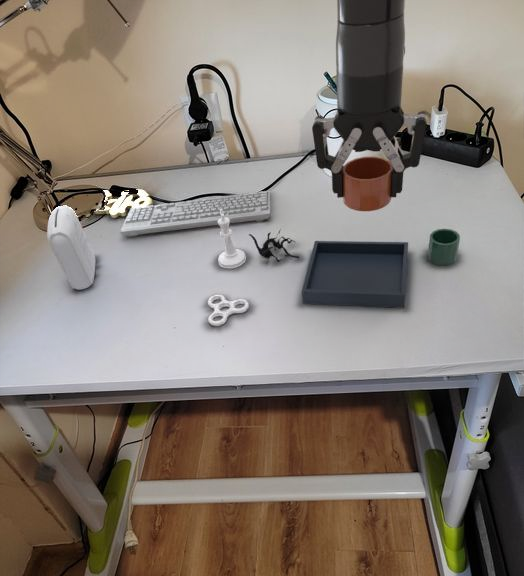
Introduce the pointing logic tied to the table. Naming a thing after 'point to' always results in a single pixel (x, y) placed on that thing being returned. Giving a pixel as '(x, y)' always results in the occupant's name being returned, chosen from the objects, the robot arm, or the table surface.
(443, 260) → the small bowl
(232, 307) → the fidget spinner
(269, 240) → the creature
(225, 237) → the chess piece
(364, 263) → the tray
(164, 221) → the keyboard
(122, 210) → the lettering
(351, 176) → the big bowl
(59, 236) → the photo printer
